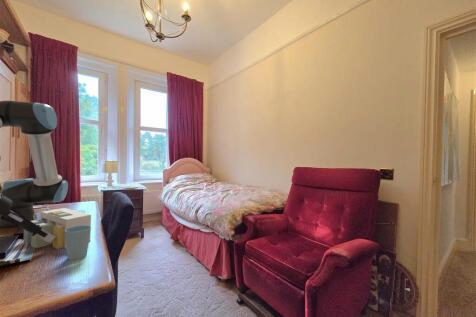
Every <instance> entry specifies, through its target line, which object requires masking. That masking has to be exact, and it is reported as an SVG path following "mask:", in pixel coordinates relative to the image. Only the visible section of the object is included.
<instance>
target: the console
mask: <svg viewBox="0 0 476 317" xmlns="http://www.w3.org/2000/svg"><path fill="white" fill-rule="evenodd" d="M42 219H47V223H49V222H55V226H56V225H60V224H62V225H65V230H66V229H67V228H70V227H74V226H81V225H88V226H91V225H92V214H89V213H86V212H83V211H82V212H81V211H78V210H73V209H72V208H71V209H70V208H67V207H60V208H56V209H55V208H54V209H51V210H48V211H46V210H41V211H40V220H42ZM91 227H92V226H91ZM65 230H64V247H63V248H65V249H67V247H66V238H65ZM90 235H92V234H91V231H90ZM89 242H91V236H90V237H89Z"/></svg>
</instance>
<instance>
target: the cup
mask: <svg viewBox="0 0 476 317" xmlns="http://www.w3.org/2000/svg"><path fill="white" fill-rule="evenodd" d="M91 230H92V226H88V225H81V226H74V227H70V228H67V229H66V230H65V238H66V247H67V248H66V254H67V255H66V256H67V259H68V260H70V261H77V260H81V259H83V258H85V257H87V255H88V249H89V242H90V241H89V237H90V238H91V234H90V231H91Z"/></svg>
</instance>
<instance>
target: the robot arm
mask: <svg viewBox="0 0 476 317" xmlns="http://www.w3.org/2000/svg"><path fill="white" fill-rule="evenodd" d="M57 126H58V117H57V114H56V111H55V109H54V108H53V107H52V106H51V105H48V103H47V104H46V103H40V102H30V101H19V100H18V101H15V100H0V129H1V128H4V127H5V128H6V127H13V128H14V127H15V128H19V129H20V132H21V134H23V135H25V136H26V137H27V143H28V147H29V152H30V155H31V160H32V164H33V168H34V172H35V176H36V178H33V177H31V178H21V179H14V180H12V179H11V180H7V181H4V182H3V183H2V187H1V188H2V189H1V194H0V228H3V229H5V228H16V227H20V228H21V229H23V230H24V229H25V230H26V231H29V232H30V233H33V234H32V236H34V235H36V236H37V237H39V238H41V239H43V240H44V241H46V242H48V243H50V242H51V241H52V240H53V239H54V238H55V237H56V236H54V235H52V234H50V233H49V232H47V231H45V230H44V229H42V227H39V226H40V225H36V224H34V223H33V222H31V221H33V220H34V219H33V215H34V213H35V212H36V210H35V209H34V204H35V203H36V204H37V203H38V204H39V203H40V204H42V203H44V204H45V203H53V204H54V203H60V202H62V201H64V200H65V198H66V196H67V194H68V189H69V182H68V181H67V180H63V176H62V175H60V174H58V168H57V163H56V158H55V153H54V148H53V142H52V136H51V134H52V133H53V132H54V130H55V129H56V128H57ZM1 160H2V158H1V156H0V161H1ZM35 216H36V220H38V216H37V214H36V215H35Z"/></svg>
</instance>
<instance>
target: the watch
mask: <svg viewBox="0 0 476 317" xmlns="http://www.w3.org/2000/svg"><path fill="white" fill-rule="evenodd" d="M48 210H52V209H51V208H50V207H49V208H47V207H42V208H39V209H37V210H35V213H34V215H33V219H34V220H36V216H37V214H38V213H39V212H42V211H48ZM35 215H36V216H35Z"/></svg>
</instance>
